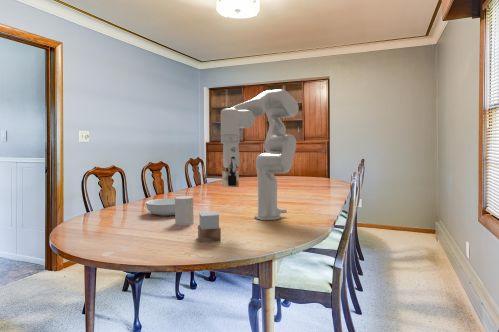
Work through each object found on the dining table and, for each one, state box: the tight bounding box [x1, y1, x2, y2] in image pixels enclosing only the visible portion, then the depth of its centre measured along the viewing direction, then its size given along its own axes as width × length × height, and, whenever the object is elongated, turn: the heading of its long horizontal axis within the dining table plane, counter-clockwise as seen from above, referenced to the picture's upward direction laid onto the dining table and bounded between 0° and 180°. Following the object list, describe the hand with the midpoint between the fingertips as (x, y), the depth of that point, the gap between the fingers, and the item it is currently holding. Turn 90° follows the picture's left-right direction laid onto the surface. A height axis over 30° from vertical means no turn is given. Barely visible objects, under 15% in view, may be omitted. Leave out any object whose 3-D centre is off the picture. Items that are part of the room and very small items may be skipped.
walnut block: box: [197, 224, 222, 244], centre depth 122 cm, size 8×8×5 cm
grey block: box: [198, 211, 220, 230], centre depth 121 cm, size 6×6×5 cm
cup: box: [174, 195, 195, 227], centre depth 146 cm, size 8×8×12 cm
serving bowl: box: [145, 198, 175, 217], centre depth 168 cm, size 21×21×7 cm
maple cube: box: [221, 170, 240, 188], centre depth 130 cm, size 6×6×6 cm
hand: (230, 184), depth 130 cm, fingers closed on maple cube, 5 cm apart
